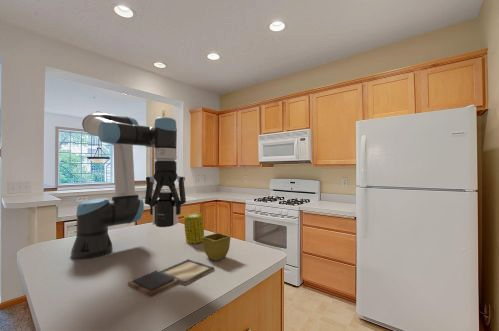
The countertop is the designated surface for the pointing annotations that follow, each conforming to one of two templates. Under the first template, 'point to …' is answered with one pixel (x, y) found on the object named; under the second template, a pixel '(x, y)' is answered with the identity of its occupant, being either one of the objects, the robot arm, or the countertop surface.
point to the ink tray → (154, 292)
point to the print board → (187, 271)
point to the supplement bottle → (164, 210)
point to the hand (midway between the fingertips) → (165, 223)
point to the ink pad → (153, 280)
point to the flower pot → (216, 245)
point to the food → (194, 228)
